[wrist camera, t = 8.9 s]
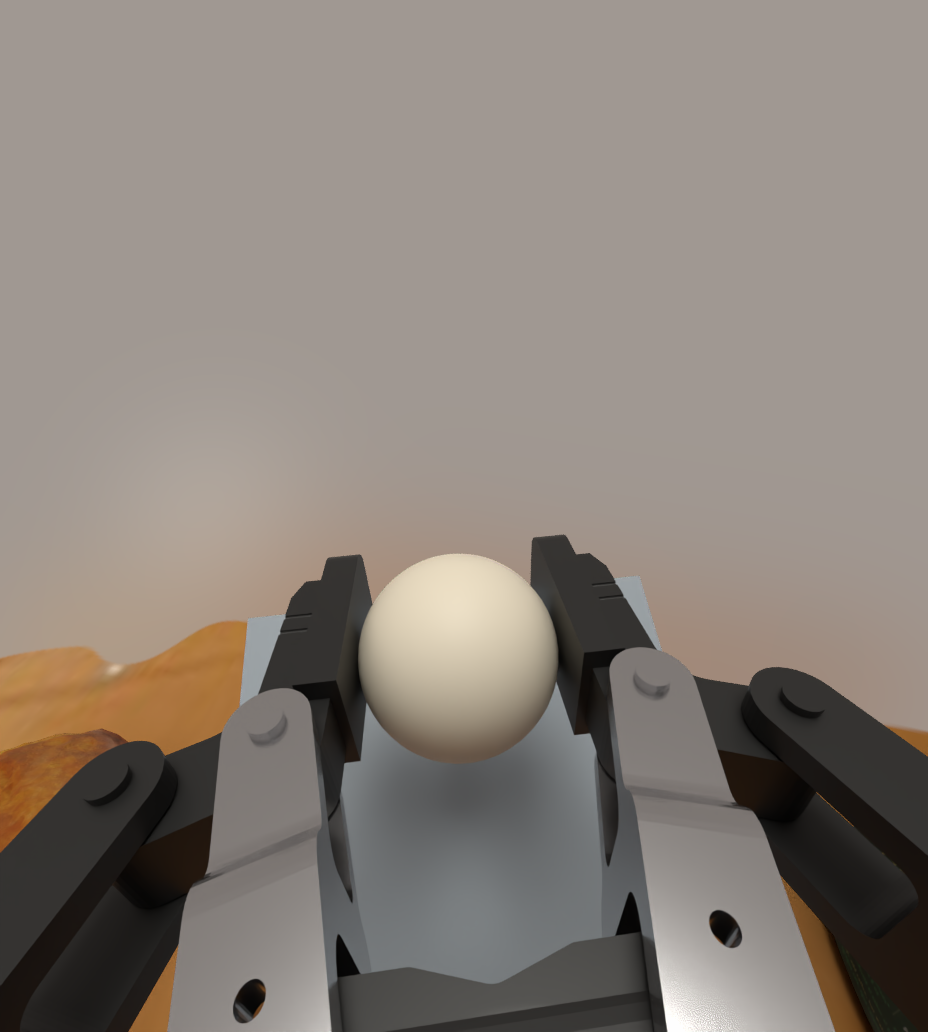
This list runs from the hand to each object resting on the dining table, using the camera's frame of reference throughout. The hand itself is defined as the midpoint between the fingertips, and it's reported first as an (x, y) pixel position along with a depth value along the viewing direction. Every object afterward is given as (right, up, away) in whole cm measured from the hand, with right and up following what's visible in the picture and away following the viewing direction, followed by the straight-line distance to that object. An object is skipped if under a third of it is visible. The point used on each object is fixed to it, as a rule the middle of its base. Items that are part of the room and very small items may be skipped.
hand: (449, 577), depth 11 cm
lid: (+1, -8, +3) cm, 8 cm away
